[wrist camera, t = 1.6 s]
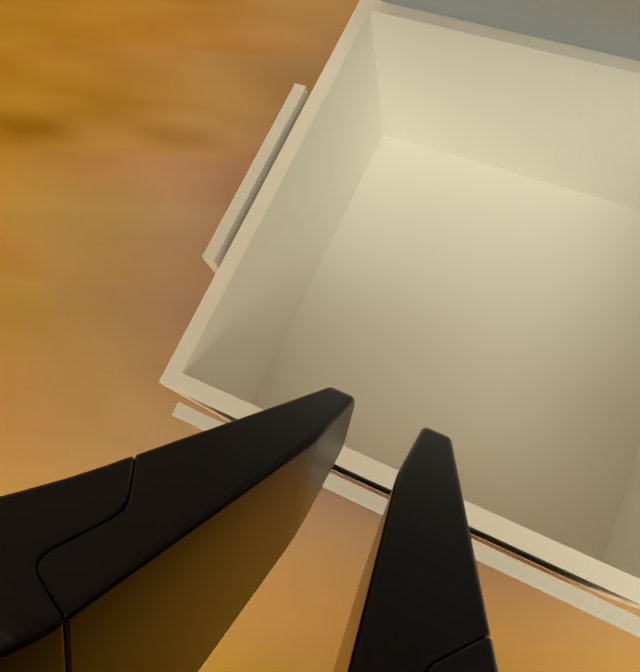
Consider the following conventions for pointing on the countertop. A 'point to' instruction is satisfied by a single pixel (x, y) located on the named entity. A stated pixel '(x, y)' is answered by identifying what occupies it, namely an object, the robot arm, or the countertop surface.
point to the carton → (450, 285)
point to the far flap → (551, 20)
